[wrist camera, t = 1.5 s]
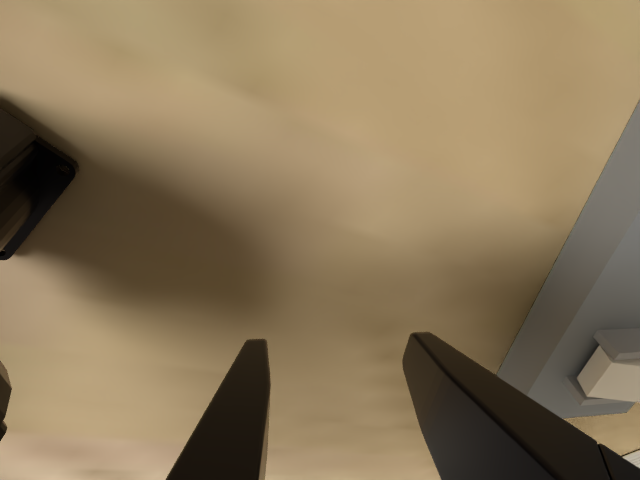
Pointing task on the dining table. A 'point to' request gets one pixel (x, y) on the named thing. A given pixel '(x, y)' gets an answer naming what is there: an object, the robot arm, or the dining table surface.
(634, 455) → the supplement box
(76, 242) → the dining table surface
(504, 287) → the dining table surface
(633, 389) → the rocker switch
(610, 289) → the long grey mounting plate
